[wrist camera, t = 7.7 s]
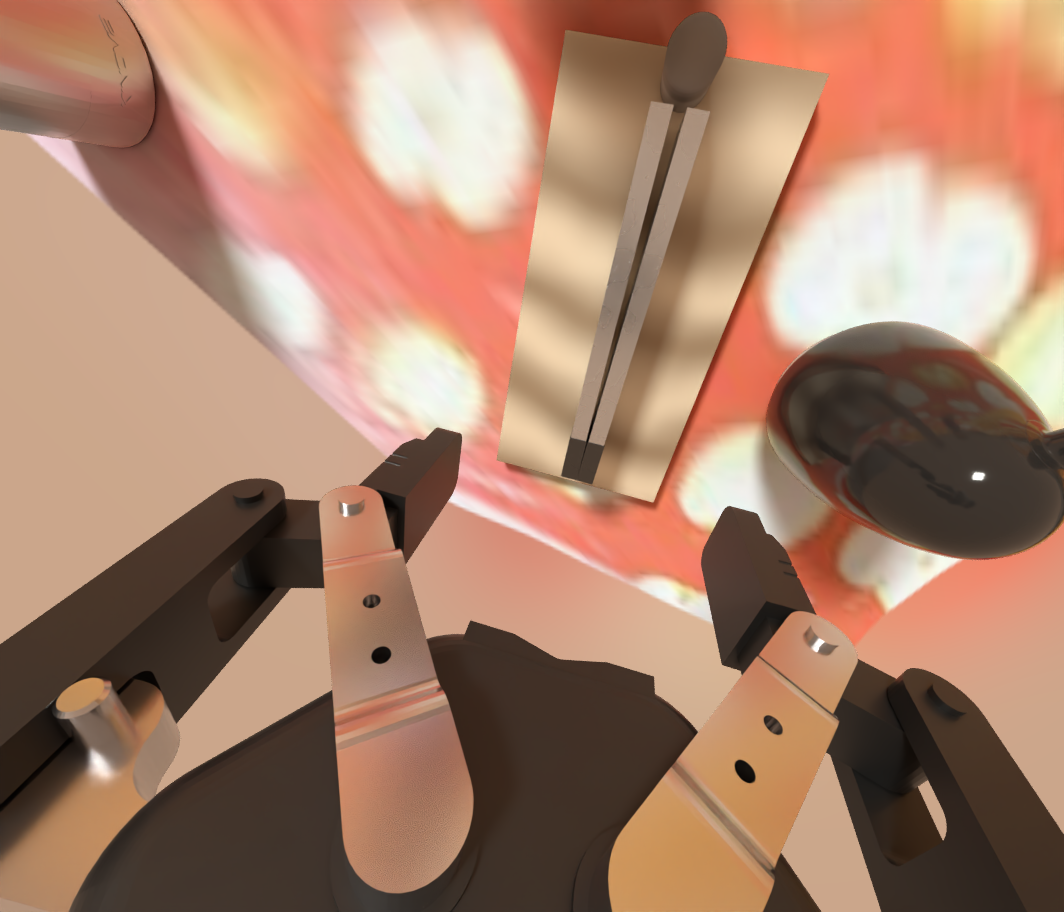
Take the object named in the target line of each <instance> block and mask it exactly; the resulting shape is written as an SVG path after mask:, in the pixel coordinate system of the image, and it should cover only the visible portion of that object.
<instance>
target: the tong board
mask: <svg viewBox="0 0 1064 912" xmlns="http://www.w3.org/2000/svg"><path fill="white" fill-rule="evenodd" d="M726 49H727V34H726V30H725V27H724V25H723V23H722V21H721V20H720V19H719V18H718V17H717V16H716V15H714V14H712V13H709V12H698V13H694V14H692V15H690V16H688V17H687V18H686V19H684V20H683V21H682V22H681V23H680V24H679V25H678V26H677V28H676V29H675V31H674V32H673V34H672V36H671V38H670V40H669V43H668V46H667V47H666V46H660V45H654V44H648V43H642V42H636V41H630V40H624V39H618V38H612V37H606V36H600V35H595V34H589V33H583V32H577V31H571V30H565V37H564V43H563V49H562V55H561V62H560V68H559V74H558V80H557V87H556V93H555V99H554V105H553V112H552V118H551V124H550V130H549V137H548V143H547V149H546V155H545V162H544V168H543V174H542V180H541V187H540V193H539V199H538V205H537V212H536V218H535V224H534V230H533V236H532V243H531V249H530V255H529V261H528V268H527V274H526V280H525V286H524V293H523V299H522V305H521V311H520V318H519V324H518V330H517V336H516V343H515V349H514V355H513V361H512V368H511V374H510V380H509V386H508V393H507V399H506V405H505V411H504V418H503V424H502V430H501V436H500V443H499V449H498V455H497V460H498V461H501V462H505V463H509V464H513V465H516V466H520V467H524V468H527V469H531V470H535V471H538V472H542V473H546V474H550V475H553V476H557V477H561V478H564V479H568V480H572V481H575V482H579V483H583V484H587V485H590V486H594V487H598V488H601V489H605V490H609V491H612V492H616V493H620V494H624V495H627V496H631V497H635V498H638V499H642V500H646V501H649V502H654V499H655V497H656V495H657V492H658V490H659V487H660V485H661V482H662V480H663V478H664V475H665V473H666V470H667V468H668V465H669V463H670V461H671V458H672V456H673V453H674V451H675V448H676V446H677V444H678V441H679V439H680V436H681V434H682V431H683V429H684V426H685V424H686V422H687V419H688V417H689V414H690V412H691V409H692V407H693V405H694V402H695V400H696V397H697V395H698V392H699V390H700V388H701V385H702V383H703V380H704V378H705V375H706V373H707V370H708V368H709V366H710V363H711V361H712V358H713V356H714V353H715V351H716V349H717V346H718V344H719V341H720V339H721V336H722V334H723V332H724V329H725V327H726V324H727V322H728V319H729V317H730V314H731V312H732V310H733V307H734V305H735V302H736V300H737V297H738V295H739V293H740V290H741V288H742V285H743V283H744V280H745V278H746V276H747V273H748V271H749V268H750V266H751V263H752V261H753V258H754V256H755V254H756V251H757V249H758V246H759V244H760V241H761V239H762V237H763V234H764V232H765V229H766V227H767V224H768V222H769V220H770V217H771V215H772V212H773V210H774V207H775V205H776V203H777V200H778V198H779V195H780V193H781V190H782V188H783V185H784V183H785V181H786V178H787V176H788V173H789V171H790V168H791V166H792V164H793V161H794V159H795V156H796V154H797V151H798V149H799V147H800V144H801V142H802V139H803V137H804V134H805V132H806V129H807V127H808V125H809V122H810V120H811V117H812V115H813V112H814V110H815V108H816V105H817V103H818V100H819V98H820V95H821V93H822V91H823V88H824V86H825V83H826V81H827V78H828V76H829V74H826V73H820V72H814V71H808V70H802V69H796V68H791V67H785V66H779V65H773V64H767V63H761V62H755V61H749V60H743V59H737V58H731V57H725V54H726ZM651 101H653V102H659V103H666V104H672V105H674V106H673V110H672V114H671V118H670V121H669V125H668V129H667V133H666V137H665V141H664V144H663V148H662V152H661V156H660V160H659V164H658V167H657V171H656V175H655V179H654V183H653V187H652V190H651V194H650V198H649V202H648V206H647V210H646V213H645V217H644V221H643V225H642V229H641V232H640V236H639V240H638V244H637V248H636V252H635V255H634V259H633V263H632V267H631V271H630V275H629V278H628V282H627V286H626V290H625V294H624V298H623V301H622V305H621V309H620V313H619V317H618V321H617V324H616V328H615V332H614V336H613V340H612V344H611V347H610V351H609V355H608V359H607V363H606V367H605V370H604V374H603V378H602V382H601V386H600V389H599V393H598V397H597V401H596V405H595V409H594V412H593V416H592V419H593V417H594V415H595V411H596V408H597V404H598V401H599V398H600V394H601V391H602V387H603V384H604V381H605V377H606V374H607V370H608V367H609V363H610V360H611V357H612V353H613V350H614V346H615V343H616V340H617V336H618V333H619V329H620V326H621V322H622V319H623V316H624V312H625V309H626V305H627V302H628V299H629V295H630V292H631V288H632V285H633V281H634V278H635V275H636V271H637V268H638V264H639V261H640V258H641V254H642V251H643V247H644V244H645V240H646V237H647V234H648V230H649V227H650V223H651V220H652V217H653V213H654V210H655V206H656V203H657V199H658V196H659V193H660V189H661V186H662V182H663V179H664V176H665V172H666V169H667V165H668V162H669V158H670V155H671V152H672V148H673V145H674V141H675V138H676V135H677V131H678V128H679V125H680V123H681V121H682V118H683V116H684V114H685V112H686V109H687V107H689V108H694V109H699V110H705V111H710V115H709V118H708V121H707V124H706V127H705V130H704V133H703V136H702V140H701V143H700V146H699V149H698V152H697V155H696V158H695V162H694V165H693V168H692V171H691V174H690V177H689V180H688V184H687V187H686V190H685V193H684V196H683V199H682V202H681V205H680V209H679V212H678V215H677V218H676V221H675V224H674V227H673V231H672V234H671V237H670V240H669V243H668V246H667V249H666V253H665V256H664V259H663V262H662V265H661V268H660V271H659V274H658V278H657V281H656V284H655V287H654V290H653V293H652V296H651V300H650V303H649V306H648V309H647V312H646V315H645V318H644V322H643V325H642V328H641V331H640V334H639V337H638V340H637V343H636V347H635V350H634V353H633V356H632V359H631V362H630V365H629V369H628V372H627V375H626V378H625V381H624V384H623V387H622V391H621V394H620V397H619V400H618V403H617V406H616V409H615V412H614V416H613V419H612V422H611V425H610V428H609V431H608V434H607V438H606V441H605V446H604V450H603V453H602V456H601V459H600V462H599V465H598V468H597V472H596V475H595V478H594V481H593V484H588V483H584V482H581V481H577V480H573V479H569V478H565V477H562V476H561V473H562V469H563V465H564V461H565V456H566V452H567V448H568V444H569V440H570V436H571V433H572V429H573V426H574V422H575V418H576V414H577V409H578V405H579V401H580V397H581V393H582V389H583V384H584V380H585V376H586V372H587V368H588V363H589V359H590V355H591V351H592V347H593V342H594V338H595V334H596V330H597V326H598V322H599V317H600V313H601V309H602V305H603V301H604V296H605V292H606V288H607V284H608V280H609V275H610V271H611V267H612V263H613V259H614V255H615V250H616V246H617V242H618V238H619V234H620V229H621V225H622V221H623V217H624V213H625V208H626V204H627V200H628V196H629V192H630V188H631V183H632V179H633V175H634V171H635V167H636V162H637V158H638V154H639V150H640V146H641V141H642V137H643V133H644V129H645V125H646V121H647V116H648V112H649V108H650V104H651ZM591 422H592V420H591ZM590 426H591V424H590Z"/></svg>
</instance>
